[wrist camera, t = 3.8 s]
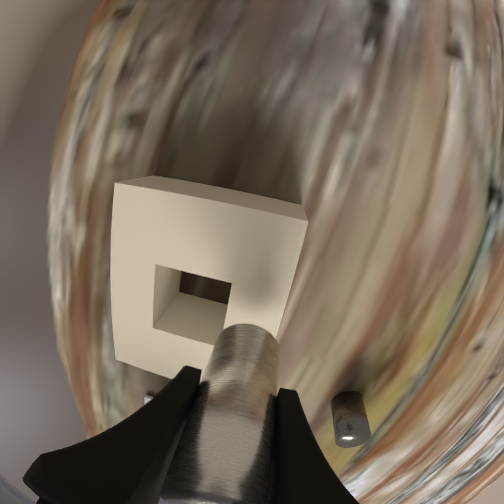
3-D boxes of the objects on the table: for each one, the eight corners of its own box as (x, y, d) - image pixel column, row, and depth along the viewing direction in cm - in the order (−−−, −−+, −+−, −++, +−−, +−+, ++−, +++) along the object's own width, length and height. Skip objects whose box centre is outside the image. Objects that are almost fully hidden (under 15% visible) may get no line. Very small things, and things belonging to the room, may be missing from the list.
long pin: (269, 378, 13) (253, 526, 6) (211, 364, 13) (161, 506, 6) (286, 331, 12) (280, 502, 5) (220, 316, 12) (157, 476, 5)
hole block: (261, 354, 22) (255, 400, 17) (143, 323, 22) (115, 358, 17) (301, 205, 18) (308, 221, 13) (154, 175, 18) (114, 182, 13)
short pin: (354, 412, 23) (361, 448, 19) (326, 410, 23) (329, 447, 19) (367, 392, 22) (377, 428, 18) (338, 389, 22) (344, 427, 18)
